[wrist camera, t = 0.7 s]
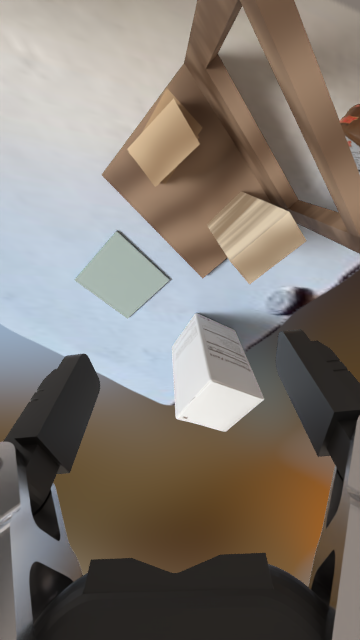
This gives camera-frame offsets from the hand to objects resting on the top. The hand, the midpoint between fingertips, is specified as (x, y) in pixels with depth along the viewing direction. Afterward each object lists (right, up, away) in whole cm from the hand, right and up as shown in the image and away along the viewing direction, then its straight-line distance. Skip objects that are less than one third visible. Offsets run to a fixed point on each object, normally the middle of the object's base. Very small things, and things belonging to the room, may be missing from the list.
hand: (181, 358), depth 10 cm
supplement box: (+4, -2, +33) cm, 33 cm away
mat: (-9, +8, +25) cm, 28 cm away
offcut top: (-2, +17, +11) cm, 21 cm away
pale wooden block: (+6, +15, +20) cm, 25 cm away
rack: (+2, +18, +19) cm, 26 cm away
